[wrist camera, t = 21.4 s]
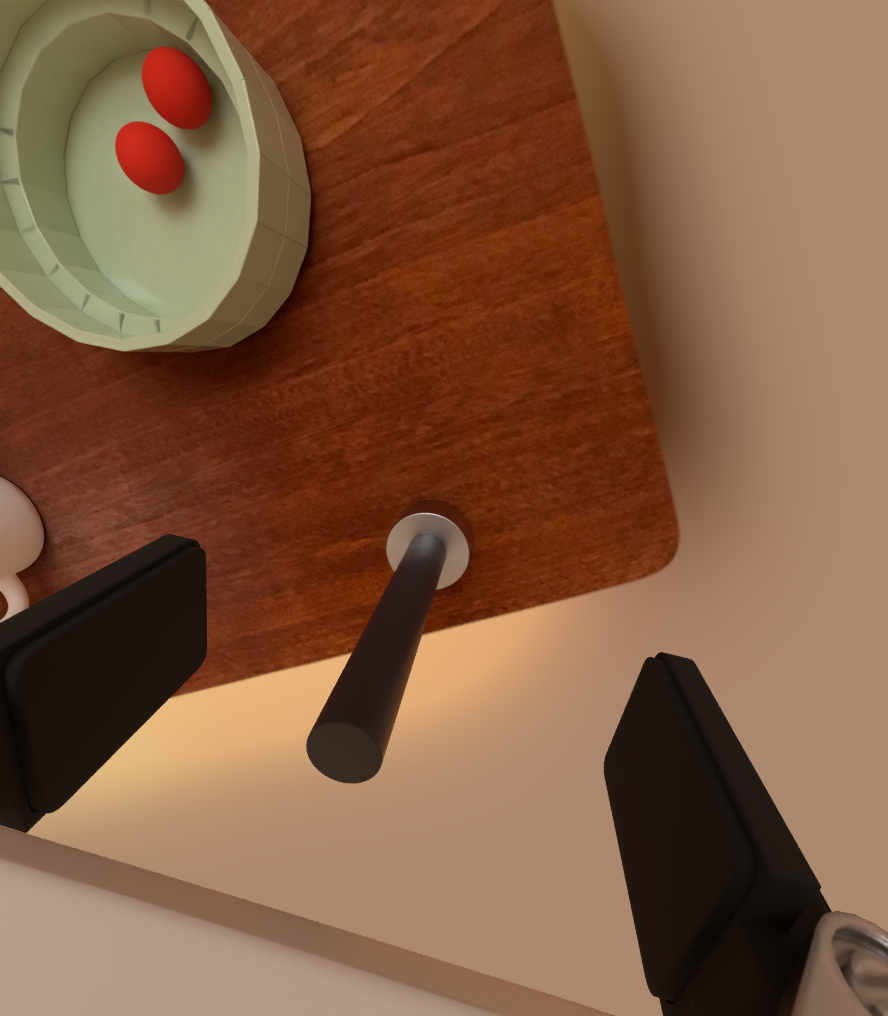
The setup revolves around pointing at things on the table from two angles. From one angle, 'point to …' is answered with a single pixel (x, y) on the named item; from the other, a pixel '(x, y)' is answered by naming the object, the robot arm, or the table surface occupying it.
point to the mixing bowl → (126, 207)
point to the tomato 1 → (177, 88)
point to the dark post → (389, 643)
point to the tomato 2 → (149, 157)
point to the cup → (17, 544)
